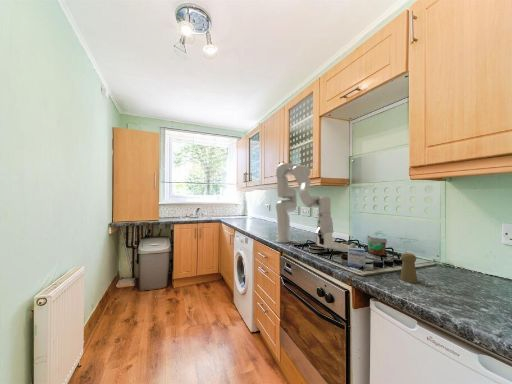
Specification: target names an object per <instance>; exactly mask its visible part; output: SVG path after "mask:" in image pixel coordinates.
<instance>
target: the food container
mask: <svg viewBox="0 0 512 384" xmlns="http://www.w3.org/2000/svg"><path fill="white" fill-rule="evenodd" d="M365 240H366V241H367V250H368V254H369V255H372V256H380V257H382V256H381V255H384V256H385V255H386V245H387V242H388V240H387V238H379V237H372V236H370V235H366V239H365Z"/></svg>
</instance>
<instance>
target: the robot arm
mask: <svg viewBox="0 0 512 384" xmlns="http://www.w3.org/2000/svg"><path fill="white" fill-rule="evenodd" d="M275 174H276V184H277V187H276V188H277V191H276V192H277V197H278V198H279V199H283V200H278V201H277V202H276V203H275V209H276V217H277V218H276V219H277V221H276V226H277V227H276V230H277V234H276V235H275V238H276V239H275V240H274V241H275V242H277V243H282V244H283V243H286V244H288V243H291V242H292V241H293V240H292V239H291V238H290V237H291V236H290V235H291V234H290V233H291V232H290V230H291V229H290V227H291V226H290V225H291V222H290V220H291V219H290V215H289V213H293V212H295V211H296V210H297V208H298V207H297V206H298V204H297V200H298V199H297V197H298V196H297V190H296V189H295V187H293V186H291V185H290V186H289V179H288V177H287V175H289V176H293V177H294V178H295V180H296V183H297V184H298V186H299V189H298V192H299V193H298V194H299V197H300V199H301V202H302V204H303V205H304V206H305V207H307V208H318V212H317V213H318V214H317V216H318V217H317V223H316V228H317V229H316V231H315V235H318V237H319V244H322V245H324V238H323V235H324V234H325V233H330V232H332V234H333V233H334V232H335V231H334V223H333V218H332V217H331V216H332V213H331V211H332V210H331V209H332V208H331V207H332V205H331V202H332V201H331V196H328V195H322V196H321V195H311V194H310V193H309V191H308V187H309V186H310V185H312V181H311V179H310V176H311V169H310V167H309V166H307V165H300V164H296V163H287V162H283V163H282V162H281V163H279V164H278V166H277V167H276V172H275ZM321 234H322V235H321Z"/></svg>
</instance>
